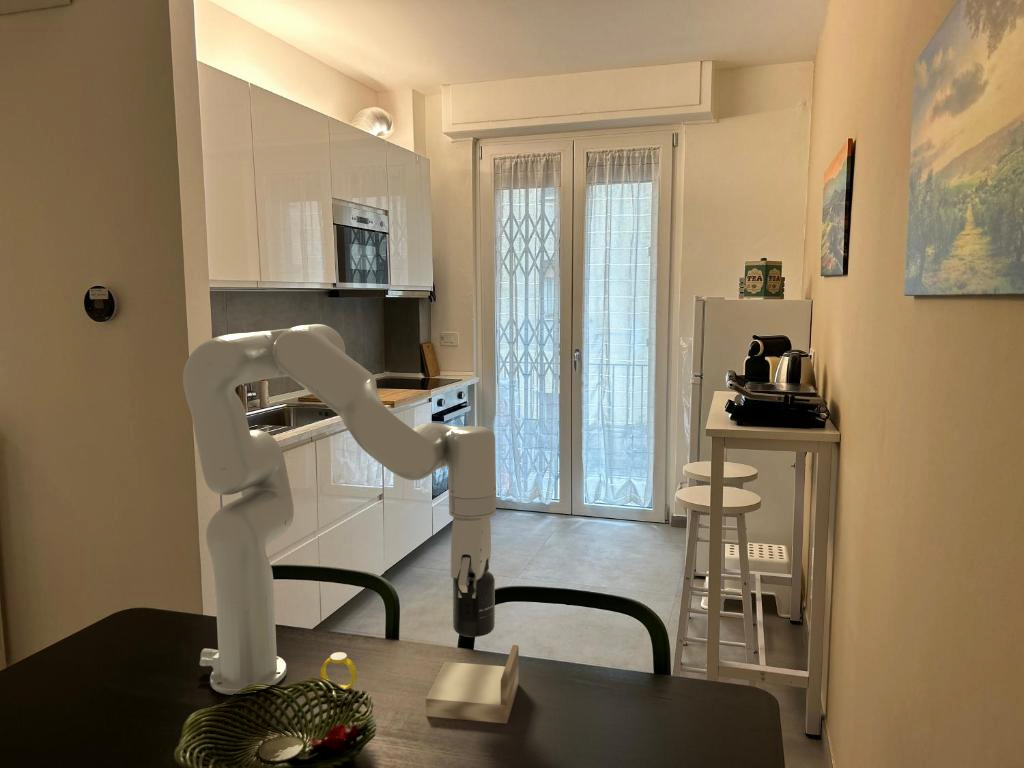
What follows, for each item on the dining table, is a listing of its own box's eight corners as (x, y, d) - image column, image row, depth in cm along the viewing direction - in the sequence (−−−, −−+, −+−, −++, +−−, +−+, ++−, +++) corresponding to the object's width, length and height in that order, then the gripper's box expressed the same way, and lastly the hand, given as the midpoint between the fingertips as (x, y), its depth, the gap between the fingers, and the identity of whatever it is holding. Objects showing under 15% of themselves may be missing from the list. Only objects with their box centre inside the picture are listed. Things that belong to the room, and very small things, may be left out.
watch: (357, 687, 128) (359, 654, 127) (351, 696, 125) (352, 662, 124) (325, 681, 129) (326, 649, 128) (318, 689, 126) (319, 656, 126)
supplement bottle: (489, 640, 118) (488, 567, 116) (448, 636, 119) (446, 564, 118) (499, 621, 124) (498, 552, 123) (459, 618, 126) (458, 549, 124)
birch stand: (426, 716, 118) (425, 674, 118) (444, 678, 130) (444, 639, 129) (507, 723, 116) (506, 681, 116) (518, 684, 128) (518, 645, 127)
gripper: (461, 489, 128) (463, 588, 131) (435, 519, 111) (437, 633, 114) (504, 490, 127) (505, 591, 129) (484, 521, 110) (486, 636, 112)
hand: (473, 609), depth 121 cm, fingers closed on supplement bottle, 6 cm apart
